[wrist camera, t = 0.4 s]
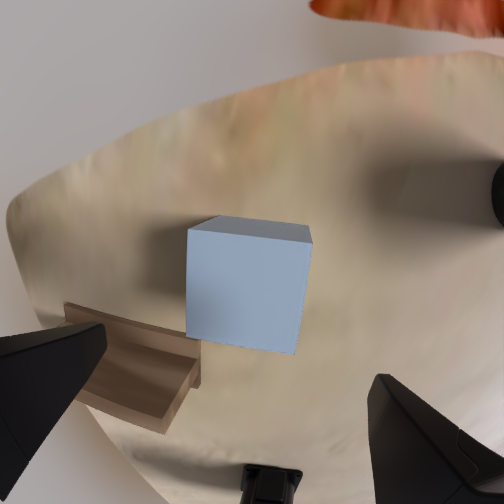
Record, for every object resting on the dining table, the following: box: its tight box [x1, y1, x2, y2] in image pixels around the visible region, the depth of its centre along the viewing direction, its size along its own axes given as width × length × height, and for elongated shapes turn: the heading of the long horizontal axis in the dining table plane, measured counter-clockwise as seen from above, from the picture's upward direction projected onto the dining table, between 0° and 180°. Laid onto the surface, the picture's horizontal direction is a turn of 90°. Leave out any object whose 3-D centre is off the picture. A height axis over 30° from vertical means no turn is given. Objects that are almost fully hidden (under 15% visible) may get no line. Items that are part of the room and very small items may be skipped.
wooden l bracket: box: [57, 303, 201, 435], centre depth 20 cm, size 5×14×8 cm, turn 85°
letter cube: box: [186, 216, 313, 354], centre depth 17 cm, size 6×6×6 cm
